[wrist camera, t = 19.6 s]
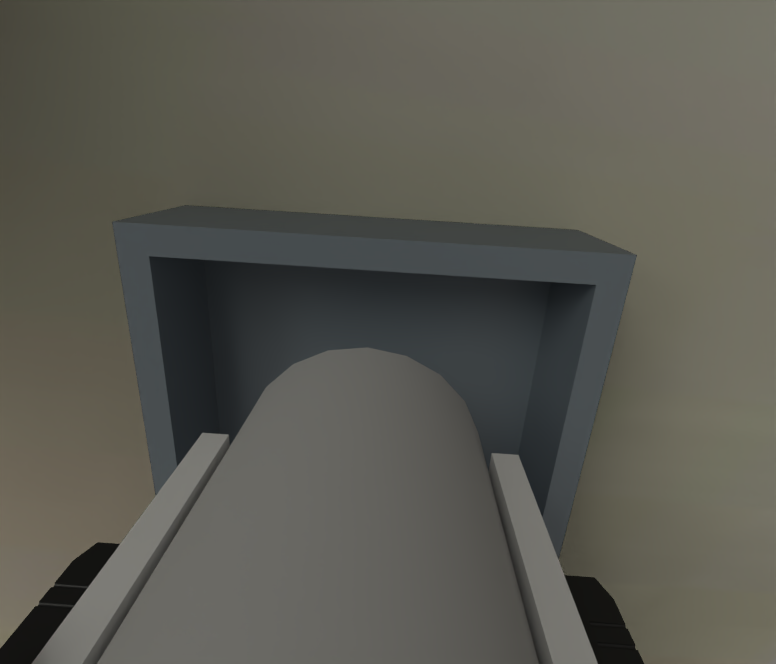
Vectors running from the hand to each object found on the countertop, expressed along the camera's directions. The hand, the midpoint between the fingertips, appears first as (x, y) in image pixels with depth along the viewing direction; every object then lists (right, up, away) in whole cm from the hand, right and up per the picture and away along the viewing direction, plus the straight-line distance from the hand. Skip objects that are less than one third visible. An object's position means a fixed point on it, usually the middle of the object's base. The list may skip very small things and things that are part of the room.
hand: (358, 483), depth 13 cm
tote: (0, -2, +10) cm, 10 cm away
